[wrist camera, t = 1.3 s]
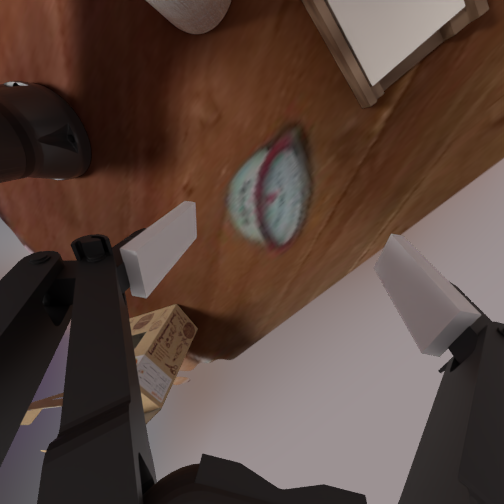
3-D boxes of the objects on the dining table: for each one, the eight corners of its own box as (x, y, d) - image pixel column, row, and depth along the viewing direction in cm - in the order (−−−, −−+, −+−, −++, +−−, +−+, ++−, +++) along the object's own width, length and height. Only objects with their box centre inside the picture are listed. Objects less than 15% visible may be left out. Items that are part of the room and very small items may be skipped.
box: (159, 284, 55) (46, 422, 30) (202, 333, 63) (141, 475, 37) (109, 302, 62) (-16, 426, 37) (153, 344, 70) (75, 470, 45)
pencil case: (299, -4, 25) (300, -23, 22) (405, -136, 20) (428, -188, 17) (362, 108, 30) (371, 106, 27) (462, 24, 25) (489, 9, 21)
